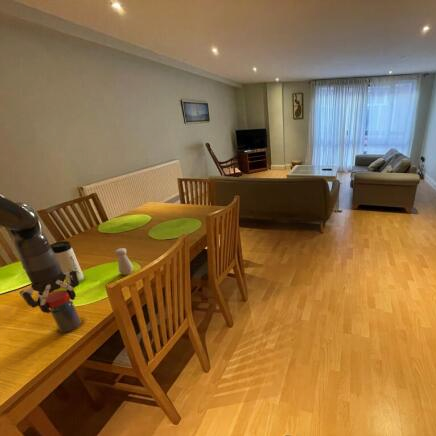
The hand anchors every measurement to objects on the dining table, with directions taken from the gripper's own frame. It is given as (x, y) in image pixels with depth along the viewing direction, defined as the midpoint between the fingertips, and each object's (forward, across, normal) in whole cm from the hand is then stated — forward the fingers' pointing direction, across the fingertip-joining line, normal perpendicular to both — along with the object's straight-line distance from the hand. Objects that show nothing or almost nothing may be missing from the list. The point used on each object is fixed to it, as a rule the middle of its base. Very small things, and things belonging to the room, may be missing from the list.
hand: (60, 305), depth 82 cm
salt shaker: (+10, +30, +14) cm, 35 cm away
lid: (-3, 0, +1) cm, 3 cm away
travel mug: (+10, +16, +30) cm, 36 cm away
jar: (+10, 0, +1) cm, 10 cm away
